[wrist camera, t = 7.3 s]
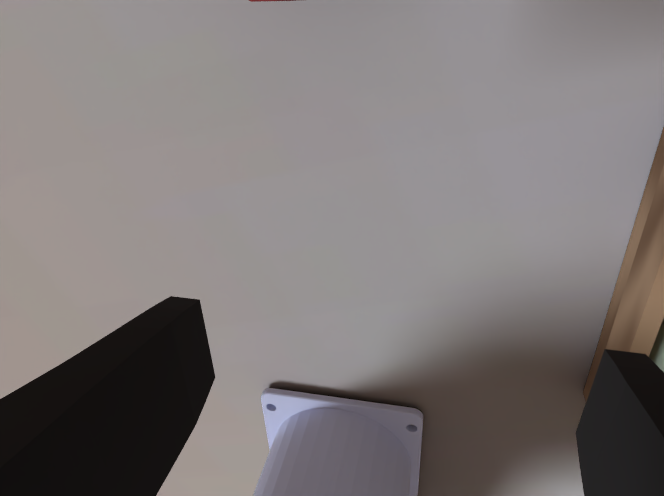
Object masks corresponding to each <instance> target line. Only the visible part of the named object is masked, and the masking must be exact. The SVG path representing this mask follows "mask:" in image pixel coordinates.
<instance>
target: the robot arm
mask: <svg viewBox="0 0 664 496" xmlns="http://www.w3.org/2000/svg"><path fill="white" fill-rule="evenodd" d="M214 379H215V373H214V368H213V364H212V359H211V354H210V349H209V344H208V339H207V334H206V329H205V324H204V319H203V314H202V309H201V304H200V300H197V299H189V298H180V297H172V296H171V297H169V298H167V299H165V300H164V301H162V302H160V303H158V304H157V305H155V306H153V307H152V308H150V309H148V310H147V311H145V312H143V313H142V314H140V315H139V316H137V317H135V318H134V319H132V320H131V321H129V322H128V323H126V324H124V325H123V326H121V327H120V328H118V329H117V330H115V331H113V332H112V333H110V334H109V335H107V336H105V337H104V338H102V339H101V340H99V341H97V342H96V343H94V344H93V345H91V346H89V347H88V348H86V349H85V350H83V351H81V352H80V353H78V354H77V355H75V356H73V357H72V358H70V359H69V360H67V361H65V362H64V363H62V364H60V365H59V366H57V367H55V368H53V369H52V370H50V371H48V372H47V373H45V374H43V375H41V376H40V377H38V378H36V379H34V380H33V381H31V382H29V383H28V384H26V385H24V386H22V387H21V388H19V389H17V390H16V391H14V392H12V393H10V394H9V395H7V396H5V397H3V398H2V399H0V496H156V495H157V493H158V491H159V489H160V488H161V486H162V484H163V482H164V481H165V479H166V477H167V475H168V474H169V472H170V470H171V468H172V467H173V465H174V463H175V461H176V460H177V458H178V456H179V454H180V452H181V451H182V449H183V447H184V445H185V443H186V442H187V440H188V438H189V436H190V434H191V433H192V431H193V429H194V427H195V425H196V423H197V421H198V418H199V416H200V414H201V411H202V409H203V407H204V404H205V402H206V399H207V397H208V394H209V392H210V389H211V386H212V384H213V381H214ZM261 402H262V408H263V414H264V419H265V425H266V431H267V437H268V443H269V449H270V452H269V454H268V457H267V460H266V462H265V465H264V467H263V470H262V473H261V475H260V478H259V481H258V483H257V486H256V489H255V491H254V494H253V496H418V484H419V471H420V457H421V443H422V429H423V414H422V412H421V411H419V410H418V409H415V408H410V407H403V406H396V405H389V404H382V403H374V402H367V401H360V400H353V399H346V398H339V397H332V396H325V395H317V394H310V393H303V392H296V391H289V390H282V389H275V388H267V389H265V390H264V391H263V393H262V395H261ZM576 437H577V445H578V454H579V462H580V469H581V476H582V483H583V490H584V495H585V496H664V372H663V371H662V370H661V369H660V368H659V367H658V366H657V365H656V364H655V363H654V362H653V361H652V360H651V359H650V358H649V357H648V356H647V355H646V354H642V353H634V352H626V351H618V350H609V349H604V352H603V355H602V358H601V361H600V364H599V367H598V370H597V373H596V375H595V378H594V381H593V384H592V387H591V390H590V393H589V396H588V399H587V402H586V405H585V407H584V410H583V413H582V416H581V419H580V422H579V425H578V428H577V431H576Z"/></svg>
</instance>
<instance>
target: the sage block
mask: <svg viewBox="0 0 664 496" xmlns="http://www.w3.org/2000/svg"><path fill="white" fill-rule="evenodd" d="M649 358H650V359H651V360H652V361H653V362H654V363H655V364H656V365H657V366H658V367H659V368H660V369H661V370H662V371H663V372H664V318H663V321H662V323H661V326H660V329H659V331H658V334H657V336H656V339H655V342H654V344H653V347H652V350H651V352H650V355H649Z"/></svg>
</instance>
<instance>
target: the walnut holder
mask: <svg viewBox="0 0 664 496" xmlns="http://www.w3.org/2000/svg"><path fill="white" fill-rule="evenodd" d="M663 318H664V128H663V131H662V134H661V138H660V141H659V144H658V147H657V151H656V154H655V157H654V161H653V164H652V167H651V171H650V174H649V177H648V180H647V184H646V187H645V190H644V194H643V197H642V200H641V203H640V207H639V210H638V213H637V217H636V220H635V223H634V227H633V230H632V233H631V236H630V240H629V243H628V246H627V250H626V253H625V256H624V260H623V263H622V266H621V269H620V273H619V276H618V279H617V283H616V286H615V289H614V292H613V296H612V299H611V302H610V306H609V309H608V312H607V316H606V319H605V322H604V325H603V329H602V332H601V335H600V339H599V342H598V345H597V349H596V352H595V355H594V358H593V362H592V365H591V368H590V372H589V375H588V378H587V381H586V385H585V388H584V391H583V394H584V397H585V401H586V402H587V399H588V396H589V393H590V390H591V387H592V384H593V381H594V378H595V375H596V373H597V370H598V367H599V364H600V361H601V358H602V355H603V352H604V349H609V350H618V351H626V352H634V353H642V354H646V355H647V356H648V357H649V355H650V352H651V350H652V347H653V344H654V342H655V339H656V336H657V334H658V331H659V329H660V326H661V323H662V321H663Z"/></svg>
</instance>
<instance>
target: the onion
mask: <svg viewBox="0 0 664 496" xmlns="http://www.w3.org/2000/svg"><path fill="white" fill-rule="evenodd" d="M249 1H294V0H249Z"/></svg>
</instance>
